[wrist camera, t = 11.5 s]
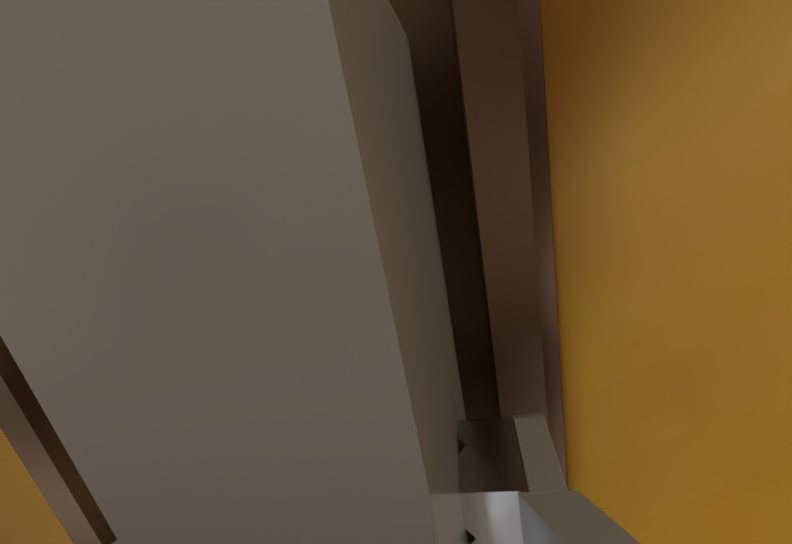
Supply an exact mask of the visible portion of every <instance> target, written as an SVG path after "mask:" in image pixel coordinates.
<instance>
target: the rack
mask: <svg viewBox="0 0 792 544" xmlns="http://www.w3.org/2000/svg"><path fill="white" fill-rule="evenodd" d="M389 2H390V4H391V6H392V8H393V10H394V11H395V13H396V15H397V17H398V19H399V21H400V23H401V25H402V27H403V28H404V30H405V32H406V34H407V36H408V40H409V46H410V53H411V59H412V66H413V72H414V79H415V85H416V92H417V99H418V105H419V112H420V118H421V125H422V131H423V138H424V144H425V151H426V158H427V164H428V171H429V177H430V184H431V190H432V197H433V203H434V210H435V217H436V223H437V230H438V236H439V243H440V249H441V256H442V262H443V269H444V275H445V282H446V289H447V295H448V302H449V308H450V315H451V321H452V328H453V334H454V341H455V348H456V354H457V361H458V367H459V374H460V380H461V387H462V393H463V400H464V407H465V413H466V419H479V418H493V417H507V416H513V415H523V414H534V413H541V414H542V415H543V416H544V417H545V420H546V423H547V427H548V430H549V433H550V436H551V439H552V442H553V445H554V448H555V451H556V455H557V458H558V461H559V464H560V467H561V470H562V473H563V476H564V480H565V483H566V486H567V478H566V460H565V442H564V424H563V406H562V387H561V369H560V351H559V333H558V315H557V297H556V278H555V260H554V242H553V224H552V206H551V188H550V170H549V151H548V133H547V115H546V97H545V79H544V61H543V42H542V24H541V6H540V0H389ZM0 427H1V429H2V431H3V432H4V434H5V435H6V437H7V439H8V440H9V442H10V443H11V445H12V446H13V448H14V450H15V451H16V453H17V454H18V456H19V458H20V459H21V461H22V462H23V464H24V466H25V467H26V469H27V470H28V472H29V473H30V475H31V477H32V478H33V480H34V481H35V483H36V485H37V486H38V488H39V489H40V491H41V493H42V494H43V496H44V497H45V499H46V500H47V502H48V504H49V505H50V507H51V508H52V510H53V512H54V513H55V515H56V516H57V518H58V519H59V521H60V523H61V524H62V526H63V527H64V529H65V531H66V532H67V534H68V535H69V537H70V539H71V540H72V542H73V543H74V544H111V543H113V542H114V541H116V540H117V538H116V537H115V535H114V533H113V531H112V530H111V528H110V526H109V524H108V523H107V521H106V519H105V517H104V516H103V514H102V512H101V510H100V509H99V507H98V505H97V503H96V502H95V500H94V498H93V496H92V495H91V493H90V491H89V489H88V488H87V486H86V484H85V482H84V481H83V479H82V477H81V475H80V474H79V472H78V470H77V468H76V467H75V465H74V463H73V461H72V460H71V458H70V456H69V454H68V453H67V451H66V449H65V447H64V446H63V444H62V442H61V440H60V439H59V437H58V435H57V433H56V432H55V430H54V428H53V426H52V425H51V423H50V421H49V419H48V418H47V416H46V414H45V412H44V411H43V409H42V407H41V405H40V404H39V402H38V400H37V398H36V397H35V395H34V393H33V391H32V390H31V388H30V386H29V384H28V383H27V381H26V379H25V377H24V376H23V374H22V372H21V370H20V369H19V367H18V365H17V363H16V362H15V360H14V358H13V357H12V355H11V353H10V351H9V350H8V348H7V346H6V344H5V343H4V341H3V339H2V337H1V336H0Z"/></svg>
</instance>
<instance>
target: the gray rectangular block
mask: <svg viewBox="0 0 792 544" xmlns="http://www.w3.org/2000/svg"><path fill="white" fill-rule="evenodd" d="M0 336H1V337H2V339H3V341H4V343H5V344H6V346H7V348H8V350H9V351H10V353H11V355H12V357H13V358H14V360H15V362H16V363H17V365H18V367H19V369H20V370H21V372H22V374H23V376H24V377H25V379H26V381H27V383H28V384H29V386H30V388H31V390H32V391H33V393H34V395H35V397H36V398H37V400H38V402H39V404H40V405H41V407H42V409H43V411H44V412H45V414H46V416H47V418H48V419H49V421H50V423H51V425H52V426H53V428H54V430H55V432H56V433H57V435H58V437H59V439H60V440H61V442H62V444H63V446H64V447H65V449H66V451H67V453H68V454H69V456H70V458H71V460H72V461H73V463H74V465H75V467H76V468H77V470H78V472H79V474H80V475H81V477H82V479H83V481H84V482H85V484H86V486H87V488H88V489H89V491H90V493H91V495H92V496H93V498H94V500H95V502H96V503H97V505H98V507H99V509H100V510H101V512H102V514H103V516H104V517H105V519H106V521H107V523H108V524H109V526H110V528H111V530H112V531H113V533H114V535H115V537H116V538H117V540H118V542H119V544H468V531H467V530H466V529H465V525H464V519H463V513H462V507H461V501H460V496H459V474H458V454H459V453H460V450H459V444H458V437H457V421H458V420H466V413H465V407H464V400H463V393H462V387H461V380H460V374H459V367H458V361H457V354H456V348H455V341H454V334H453V328H452V321H451V315H450V308H449V302H448V295H447V289H446V282H445V275H444V269H443V262H442V256H441V249H440V243H439V236H438V230H437V223H436V217H435V210H434V203H433V197H432V190H431V184H430V177H429V171H428V164H427V158H426V151H425V144H424V138H423V131H422V125H421V118H420V112H419V105H418V99H417V92H416V85H415V79H414V72H413V66H412V59H411V53H410V46H409V40H408V36H407V34H406V32H405V30H404V28H403V27H402V25H401V23H400V21H399V19H398V17H397V15H396V13H395V11H394V10H393V8H392V6H391V4H390V2H389V0H0Z"/></svg>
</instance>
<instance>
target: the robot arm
mask: <svg viewBox="0 0 792 544" xmlns="http://www.w3.org/2000/svg"><path fill="white" fill-rule="evenodd" d="M457 437H458V444H459V450H460V453H459V454H458V474H459V496H460V501H461V507H462V513H463V519H464V525H465V529H466V530H467V531H468V544H640V543H639V542H638V541H637V540H636V539H634V538H633V537H632V536H631V535H630V534H629V533H627V532H626V531H625V530H624V529H623V528H622V527H620V526H619V525H618V524H617V523H616V522H614V521H613V520H612V519H611V518H610V517H609V516H607V515H606V514H605V513H604V512H603V511H602V510H600V509H599V508H598V507H597V506H596V505H595V504H593V503H592V502H591V501H590V500H589V499H587V498H586V497H585V496H584V495H583V494H582V493H580V492H579V491H568V489H567V486H566V483H565V480H564V476H563V473H562V470H561V467H560V464H559V461H558V458H557V455H556V451H555V448H554V445H553V442H552V439H551V436H550V433H549V430H548V427H547V423H546V420H545V417H544V416H543V415H542V414H541V413H534V414H523V415H513V416H507V417H493V418H479V419H466V420H458V421H457ZM111 544H119V542H118V540H116V541H114V542H113V543H111Z"/></svg>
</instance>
